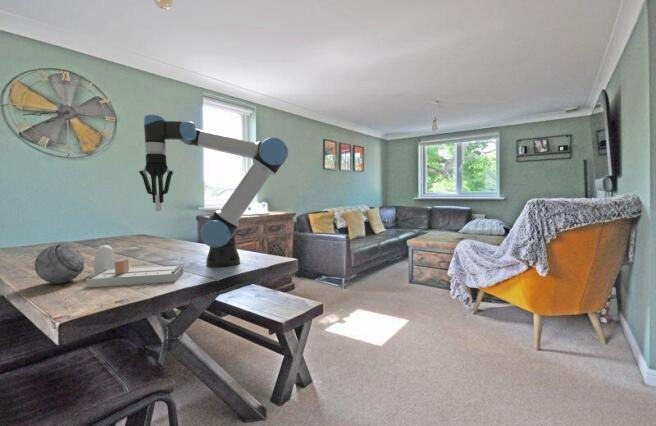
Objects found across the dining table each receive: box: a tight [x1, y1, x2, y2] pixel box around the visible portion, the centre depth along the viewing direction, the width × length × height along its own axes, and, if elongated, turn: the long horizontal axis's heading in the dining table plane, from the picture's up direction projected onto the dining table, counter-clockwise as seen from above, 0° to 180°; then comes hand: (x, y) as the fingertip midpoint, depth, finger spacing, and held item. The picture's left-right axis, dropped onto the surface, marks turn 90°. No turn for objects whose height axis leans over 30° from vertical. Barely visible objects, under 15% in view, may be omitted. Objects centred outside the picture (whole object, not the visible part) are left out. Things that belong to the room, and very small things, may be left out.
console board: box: [85, 264, 184, 288], centre depth 130 cm, size 30×14×4 cm, turn 102°
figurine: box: [93, 244, 117, 274], centre depth 140 cm, size 7×8×12 cm
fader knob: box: [114, 258, 130, 274], centre depth 128 cm, size 3×5×5 cm, turn 12°
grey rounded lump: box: [34, 243, 85, 284], centre depth 126 cm, size 15×14×15 cm
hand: (158, 210), depth 138 cm, fingers closed
